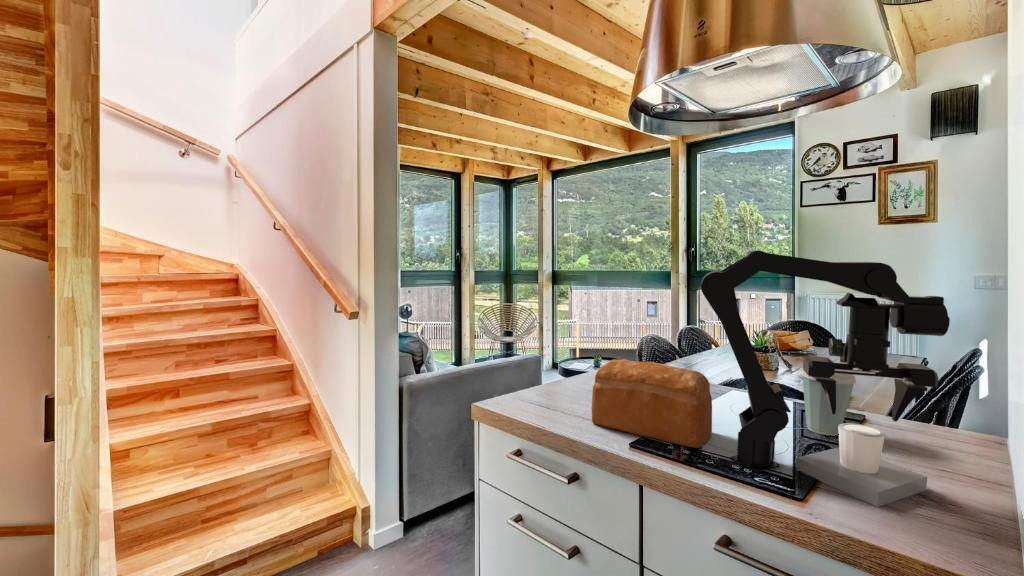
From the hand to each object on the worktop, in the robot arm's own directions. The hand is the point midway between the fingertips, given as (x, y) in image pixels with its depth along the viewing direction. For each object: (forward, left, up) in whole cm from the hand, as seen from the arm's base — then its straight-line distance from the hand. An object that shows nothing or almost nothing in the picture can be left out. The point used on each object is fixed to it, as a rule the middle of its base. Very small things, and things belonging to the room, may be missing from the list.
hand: (863, 417), depth 85 cm
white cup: (0, 0, -10) cm, 10 cm away
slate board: (0, 0, -12) cm, 12 cm away
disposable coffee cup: (+18, +18, -12) cm, 28 cm away
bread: (-19, +35, -12) cm, 42 cm away
